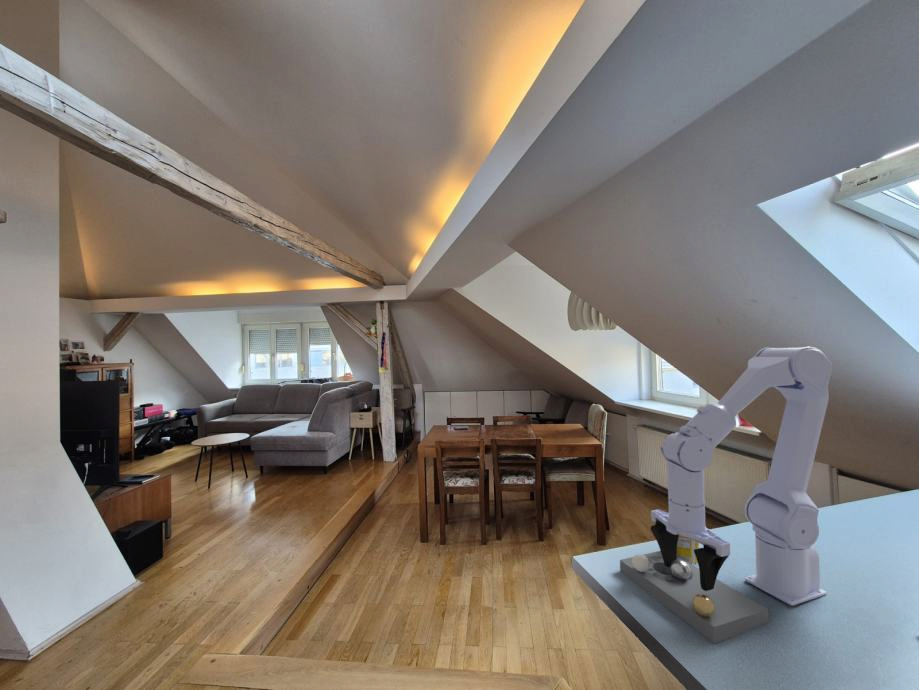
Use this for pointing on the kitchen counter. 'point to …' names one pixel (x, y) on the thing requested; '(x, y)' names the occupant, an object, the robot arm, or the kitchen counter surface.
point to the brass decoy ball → (703, 605)
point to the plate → (678, 594)
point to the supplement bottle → (687, 549)
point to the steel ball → (680, 569)
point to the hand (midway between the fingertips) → (687, 576)
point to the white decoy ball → (640, 563)
